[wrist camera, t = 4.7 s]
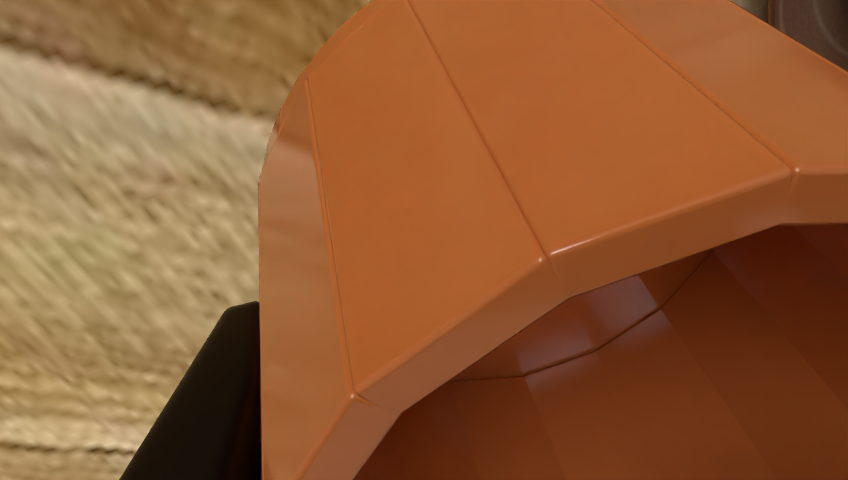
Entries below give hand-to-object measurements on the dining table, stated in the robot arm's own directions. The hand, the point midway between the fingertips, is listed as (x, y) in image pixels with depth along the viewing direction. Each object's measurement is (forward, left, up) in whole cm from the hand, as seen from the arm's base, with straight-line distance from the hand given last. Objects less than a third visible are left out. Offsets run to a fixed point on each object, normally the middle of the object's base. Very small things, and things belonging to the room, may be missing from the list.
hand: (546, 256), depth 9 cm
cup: (0, 0, -1) cm, 1 cm away
